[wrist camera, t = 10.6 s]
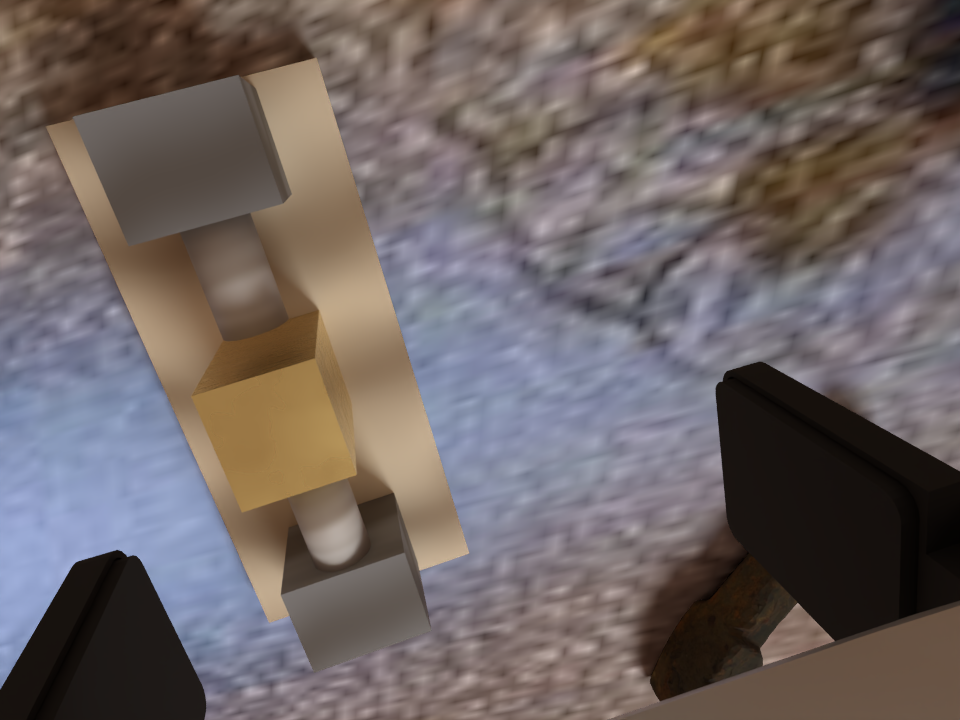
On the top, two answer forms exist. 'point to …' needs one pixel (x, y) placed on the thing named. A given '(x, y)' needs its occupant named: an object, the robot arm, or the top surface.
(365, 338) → the shaft mount
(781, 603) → the hand tool
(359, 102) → the top surface
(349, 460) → the yellow rectangular block
